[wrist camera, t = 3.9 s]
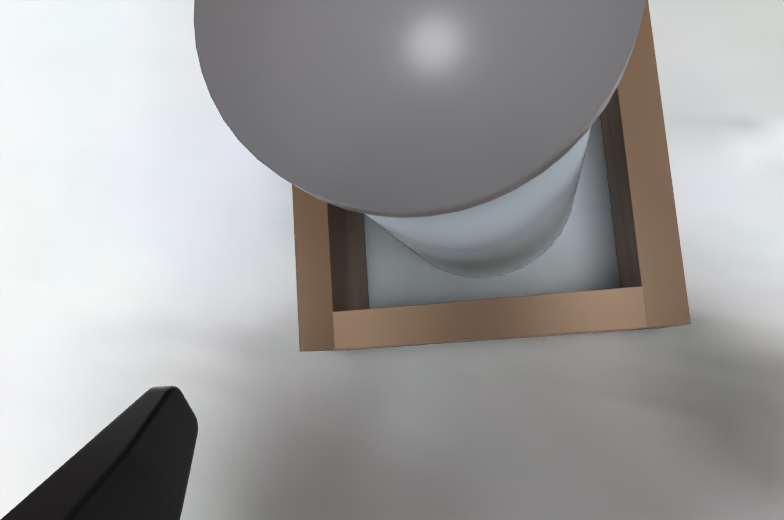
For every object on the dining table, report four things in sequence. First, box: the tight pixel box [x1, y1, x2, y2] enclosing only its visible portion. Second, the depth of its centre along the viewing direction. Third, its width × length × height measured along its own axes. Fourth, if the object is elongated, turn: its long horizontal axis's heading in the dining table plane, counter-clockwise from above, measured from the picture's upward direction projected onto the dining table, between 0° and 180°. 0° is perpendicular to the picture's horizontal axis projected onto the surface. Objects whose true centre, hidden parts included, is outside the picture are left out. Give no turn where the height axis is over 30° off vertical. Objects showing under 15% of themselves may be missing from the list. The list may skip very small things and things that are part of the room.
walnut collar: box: [292, 0, 691, 351], centre depth 19 cm, size 10×10×4 cm
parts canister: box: [194, 0, 646, 278], centre depth 15 cm, size 7×7×12 cm
